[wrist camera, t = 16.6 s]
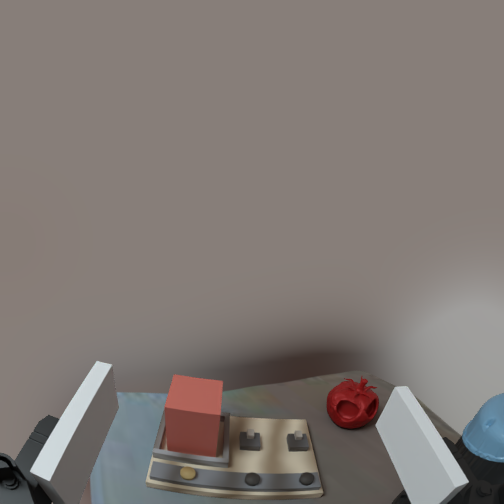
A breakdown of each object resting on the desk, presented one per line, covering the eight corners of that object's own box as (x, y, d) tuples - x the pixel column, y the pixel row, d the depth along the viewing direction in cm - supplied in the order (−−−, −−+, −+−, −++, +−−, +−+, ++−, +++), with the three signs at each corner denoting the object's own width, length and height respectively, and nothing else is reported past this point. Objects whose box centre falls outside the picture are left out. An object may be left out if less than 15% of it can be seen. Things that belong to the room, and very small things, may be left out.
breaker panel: (303, 425, 46) (308, 412, 46) (320, 497, 31) (327, 486, 30) (165, 413, 45) (165, 399, 44) (146, 486, 29) (143, 474, 28)
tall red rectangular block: (217, 425, 43) (222, 381, 40) (215, 458, 36) (220, 415, 33) (174, 419, 42) (173, 374, 40) (167, 451, 35) (164, 407, 33)
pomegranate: (318, 400, 54) (330, 363, 52) (364, 401, 54) (378, 365, 52) (325, 435, 44) (341, 396, 42) (377, 433, 44) (395, 396, 42)
